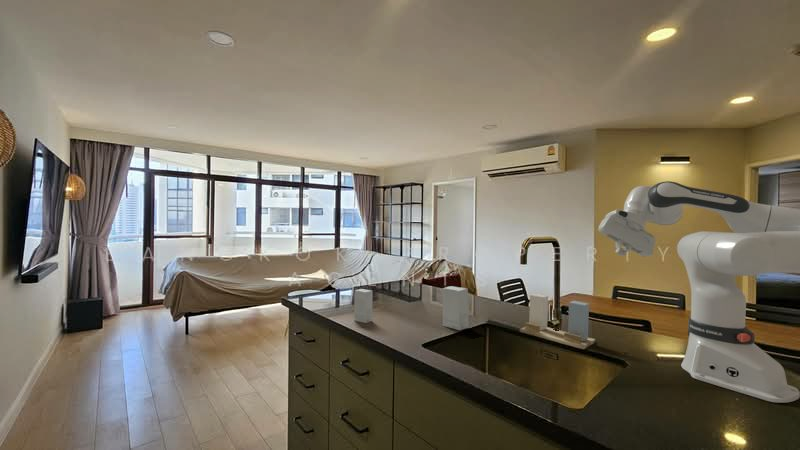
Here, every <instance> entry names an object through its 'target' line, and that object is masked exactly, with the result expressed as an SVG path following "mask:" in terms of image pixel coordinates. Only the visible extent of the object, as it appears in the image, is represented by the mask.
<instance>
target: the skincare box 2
mask: <svg viewBox="0 0 800 450" xmlns="http://www.w3.org/2000/svg"><path fill="white" fill-rule="evenodd" d="M468 292H469V289H468V288H465V287H458V286H453V285H451V286H446V287H443V288H442V295H441V297H442V326H443V327H446V328H449V329H453V330H456V331H462V330H465V329H468V328H469V293H468Z"/></svg>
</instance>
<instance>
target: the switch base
mask: <svg viewBox="0 0 800 450" xmlns="http://www.w3.org/2000/svg"><path fill="white" fill-rule="evenodd" d="M553 329H554V328H553ZM553 329H552V327H548V326H547V329H544V330H540V326H539V325H535V324H531V323H529V322H525V323H524V327H521V328H519V332H520V333H523V334H527V335H530V336H534V337H538V338H541V339H545V340H548V341H551V342H556V343H559V344H563V345H567V346H569V347H570V346H571V347H573V348H577V349H582V350H585V349H587V348H588V347H591V345H594V344H595V343H596V339H595V338H592V337H589V336H588V339H587V340H585V341H581V336H578V335H574V334H570V333H568V331H566V330H565V331H564V330H560V329H558V330H559V331H555V330H553Z"/></svg>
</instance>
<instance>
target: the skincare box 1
mask: <svg viewBox="0 0 800 450" xmlns="http://www.w3.org/2000/svg"><path fill="white" fill-rule="evenodd" d="M373 293H374V292H373V290H370V289H364V288H359V289H355V290H354V307H353V308H354V311H353V321H354V322H359V323H363V324H367V323H370V322H372V321H373Z"/></svg>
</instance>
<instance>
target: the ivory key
mask: <svg viewBox="0 0 800 450" xmlns="http://www.w3.org/2000/svg"><path fill="white" fill-rule="evenodd" d="M548 309H549V296H548V295H546V294H545V295H544V294H539V293H532V294H529V315H528V317H529V318H528V320H529V321H528V323H531V324H535V325H539V326H540V330H544V329H547V327H548V314H549V313H548V311H549V310H548Z"/></svg>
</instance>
